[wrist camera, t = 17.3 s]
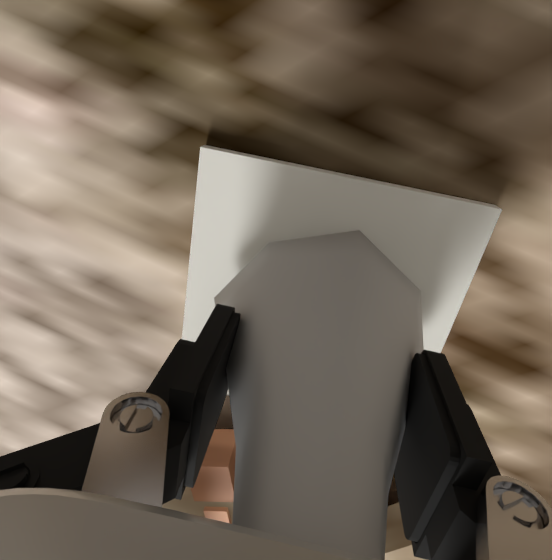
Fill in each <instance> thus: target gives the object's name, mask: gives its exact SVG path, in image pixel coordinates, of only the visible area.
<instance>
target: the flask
mask: <svg viewBox="0 0 552 560" xmlns="http://www.w3.org/2000/svg"><path fill="white" fill-rule="evenodd" d="M214 302H215V306H216V304H222V305H226V306H231V307H235V312H236V313H240V314H241V316H240V321H239V325H238V328H237V332H236V336H235V339H234V343H233V346H232V350H231V353H230V357H229V360H228V364H227V367H226V373H227V381H228V389H229V397H230V404H231V412H232V420H233V428H234V435H235V443H236V456H235V478H234V499H233V521H232V524H235V525H239V526H243V527H247V528H252V529H256V530H260V531H264V532H268V533H273V534H277V535H281V536H285V537H289V538H293V539H298V540H302V541H306V542H310V543H314V544H318V545H322V546H326V547H331V548H335V549H339V550H343V551H347V552H351V553H355V554H359V555H363V556H367V557H372V558H376V559H380V560H385V544H386V526H387V508H388V494H389V490H390V486H391V482H392V478H393V474H394V470H395V466H396V462H397V458H398V454H399V450H400V446H401V443H402V439H403V435H404V431H405V427H406V416H407V405H408V395H409V384H410V374H411V363H412V359H413V357H414V355H415V354H416V353H420V354H421V352H422V351H423V350H424V347H423V326H422V306H421V290H420V289H418V288H417V287H416V286H415V285H414V284H413V283H412V282H411V281H410V280H409V279H408V278H407V277H406V276H405V275H404V274H403V273H402V272H401V271H400V270H399V269H398V268H397V267H396V266H395V265H394V264H393V263H392V262H391V261H390V260H389V259H388V258H387V257H386V256H385V255H384V254H383V253H382V252H381V251H380V250H379V249H378V248H377V247H376V246H375V245H374V244H373V243H372V242H371V241H370V240H369V239H368V238H367V237H366V236H365V235H364V234H363V233H362V232H361V231H360V230H357V231H349V232H342V233H335V234H327V235H320V236H313V237H305V238H298V239H291V240H283V241H276V242H269V243H268V244H267V245H266V246H265V247H264V248H263V249H262V250H261V251H260V252H259V253H258V254H257V255H256V256H255V257H254V258H253V259H252V260H251V261H250V262H249V263H248V264H247V265H246V266H245V267H244V268H243V269H242V270H241V271H240V272H239V273H238V274H237V275H236V276H235V277H234V278H233V279H232V280H231V281H230V282H229V283H228V284H227V285H226V286H225V287H224V288H223V289H222V290H221V291H220V292H219V293H218V294H217V295H216V296H215V297H214Z"/></svg>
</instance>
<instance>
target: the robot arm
mask: <svg viewBox="0 0 552 560" xmlns="http://www.w3.org/2000/svg"><path fill="white" fill-rule="evenodd" d="M240 316H241V314H240V313H236V312H235V307H231V306H226V305H222V304H216V306H215V308H214V309H213V311H212V313H211V315H210V317H209V318H208V320H207V322H206V324H205V326H204V327H203V329H202V331H201V333H200V334H199V336H198V338H197V340H196V342H192V341H188V340H183V339H180V340H179V341H178V342H177V344H176V345H175V347H174V349H173V350H172V352H171V353H170V355H169V357H168V358H167V360H166V361H165V363H164V364H163V366H162V368H161V369H160V371H159V372H158V374H157V375H156V377H155V379H154V380H153V382H152V383H151V385H150V387H149V388H148V390H147V391H146V393H145V392H134V393H128V394H125V395H122V396H120V397H118V398H116V399H114V400H113V401H112V402H111V403H110V404H108V405H107V406H106V408H105V410H104V412H103V415H102V418H101V422H100V423H99V424H96V425H93V426H90V427H87V428H84V429H81V430H78V431H75V432H72V433H69V434H66V435H63V436H60V437H57V438H54V439H51V440H48V441H45V442H42V443H39V444H36V445H34V446H31V447H28V448H25V449H22V450H19V451H16V452H13V453H10V454H7V455H4V456H1V457H0V560H380V559H376V558H372V557H367V556H363V555H359V554H355V553H351V552H347V551H343V550H339V549H335V548H331V547H326V546H322V545H318V544H314V543H310V542H306V541H302V540H298V539H293V538H289V537H285V536H281V535H277V534H273V533H268V532H264V531H260V530H256V529H252V528H247V527H243V526H239V525H235V524H230V523H226V522H222V521H218V520H214V519H209V518H205V517H201V516H197V515H192V514H188V513H184V512H180V511H176V510H171V509H166V508H162V505H163V504H165V503H167V502H169V501H171V500H173V499H178V500H181V499H182V496H183V493H184V491H185V488H186V487H190V488H193V487H194V485H195V482H196V480H197V477H198V474H199V471H200V468H201V465H202V463H203V460H204V457H205V454H206V451H207V448H208V446H209V443H210V440H211V437H212V434H213V432H214V429H215V426H216V423H217V420H218V417H219V415H220V412H221V409H222V406H223V403H224V400H225V398H226V395H227V391H228V381H227V373H226V367H227V364H228V360H229V357H230V353H231V350H232V346H233V343H234V339H235V336H236V332H237V328H238V325H239V321H240ZM394 476H395V482H396V488H397V494H398V500H399V506H400V512H401V518H402V524H403V530H404V535H405V538H406V539H407V540H411V543H412V548H413V554H414V557H418V558H422V559H426V560H552V509H551V507H550V506H549V504H548V503H547V502H546V501H545V500H544V499H543V498H542V497H541V496H540V495H539V494H538V493H537V492H536V491H535V490H533V489H532V488H531V487H529V486H528V485H526V484H524V483H523V482H521V481H519V480H517V479H514V478H511V477H508V476H501V474H500V472H499V470H498V468H497V466H496V463H495V461H494V459H493V457H492V454H491V452H490V450H489V448H488V446H487V443H486V441H485V439H484V437H483V434H482V432H481V430H480V428H479V426H478V423H477V421H476V419H475V417H474V415H473V412H472V410H471V408H470V407H469V405H467V404H466V401H465V399H464V397H463V395H462V392H461V390H460V388H459V386H458V383H457V381H456V379H455V377H454V374H453V372H452V370H451V368H450V365H449V363H448V361H447V359H446V356H445V355H444V354H442V353H438V352H433V351H429V350H423V351H422V352H421V354H420V353H416V354H415V355H414V357H413V359H412V363H411V374H410V384H409V395H408V405H407V416H406V427H405V431H404V435H403V439H402V443H401V446H400V450H399V454H398V458H397V462H396V466H395V470H394Z"/></svg>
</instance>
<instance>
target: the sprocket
mask: <svg viewBox="0 0 552 560" xmlns="http://www.w3.org/2000/svg"><path fill="white" fill-rule="evenodd" d="M235 456H236V443H235V435H234V429H214V432H213V434H212V437H211V440H210V443H209V446H208V448H207V451H206V454H205V457H204V460H203V463H202V465H201V468H200V471H199V474H198V477H197V480H196V482H195V485H194V487H193V488H190V487H186V488H185V491H184V493H183V496H182V499H181V500H178V499H173V500H171V501H169V502H167V503H165V504H163V505H162V508H166V509H171V510H176V511H180V512H184V513H188V514H192V515H197V516H201V517H205V518H209V519H214V520H218V521H222V522H226V523H230V524H232V521H233V499H234V478H235ZM385 560H426V559H422V558H418V557H414V554H413V548H412V543H411V540H407V539H406V538H405V535H404V530H403V524H402V518H401V512H400V506H399V502H398V503H396V504H393V505H390V506H388V508H387V526H386V544H385Z"/></svg>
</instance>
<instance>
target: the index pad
mask: <svg viewBox="0 0 552 560" xmlns="http://www.w3.org/2000/svg"><path fill="white" fill-rule="evenodd" d="M501 211H502V209H501V208H499V207H498V206H496V205H493V204H489V203H484V202H479V201H474V200H469V199H464V198H460V197H455V196H450V195H445V194H440V193H435V192H431V191H426V190H421V189H416V188H411V187H406V186H401V185H397V184H392V183H387V182H382V181H377V180H372V179H368V178H363V177H358V176H353V175H348V174H343V173H338V172H334V171H329V170H324V169H319V168H314V167H309V166H305V165H300V164H295V163H290V162H285V161H280V160H276V159H271V158H266V157H261V156H256V155H251V154H246V153H242V152H237V151H232V150H227V149H222V148H217V147H213V146H208V145H204V146H202V147H200V156H199V166H198V177H197V187H196V197H195V208H194V218H193V228H192V239H191V249H190V259H189V270H188V280H187V290H186V301H185V311H184V321H183V332H182V339H183V340H188V341H192V342H196V340H197V338H198V336H199V334H200V333H201V331H202V329H203V327H204V326H205V324H206V322H207V320H208V318H209V317H210V315H211V313H212V311H213V309H214V308H215V302H214V297H215V296H216V295H217V294H218V293H219V292H220V291H221V290H222V289H223V288H224V287H225V286H226V285H227V284H228V283H229V282H230V281H231V280H232V279H233V278H234V277H235V276H236V275H237V274H238V273H239V272H240V271H241V270H242V269H243V268H244V267H245V266H246V265H247V264H248V263H249V262H250V261H251V260H252V259H253V258H254V257H255V256H256V255H257V254H258V253H259V252H260V251H261V250H262V249H263V248H264V247H265V246H266V245H267V244H268V243H269V242H276V241H283V240H291V239H298V238H305V237H313V236H320V235H327V234H335V233H342V232H349V231H357V230H360V231H361V232H362V233H363V234H364V235H365V236H366V237H367V238H368V239H369V240H370V241H371V242H372V243H373V244H374V245H375V246H376V247H377V248H378V249H379V250H380V251H381V252H382V253H383V254H384V255H385V256H386V257H387V258H388V259H389V260H390V261H391V262H392V263H393V264H394V265H395V266H396V267H397V268H398V269H399V270H400V271H401V272H402V273H403V274H404V275H405V276H406V277H407V278H408V279H409V280H410V281H411V282H412V283H413V284H414V285H415V286H416V287H417V288H418V289H420V290H421V306H422V326H423V347H424V350H429V351H433V352H438V353H441V351H442V348H443V346H444V344H445V341H446V339H447V337H448V334H449V332H450V330H451V327H452V325H453V323H454V320H455V318H456V316H457V313H458V311H459V309H460V306H461V304H462V302H463V299H464V297H465V295H466V292H467V290H468V288H469V286H470V283H471V281H472V279H473V276H474V274H475V272H476V269H477V267H478V265H479V262H480V260H481V258H482V255H483V253H484V251H485V248H486V246H487V244H488V241H489V239H490V237H491V234H492V232H493V230H494V227H495V225H496V223H497V220H498V218H499V216H500V213H501ZM227 395H229V389H228V391H227Z"/></svg>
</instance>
